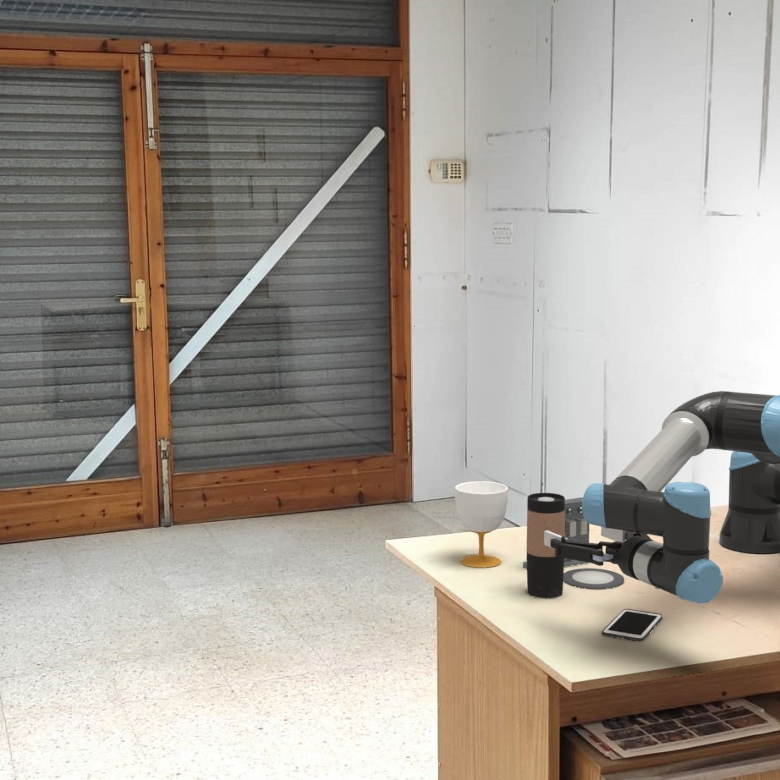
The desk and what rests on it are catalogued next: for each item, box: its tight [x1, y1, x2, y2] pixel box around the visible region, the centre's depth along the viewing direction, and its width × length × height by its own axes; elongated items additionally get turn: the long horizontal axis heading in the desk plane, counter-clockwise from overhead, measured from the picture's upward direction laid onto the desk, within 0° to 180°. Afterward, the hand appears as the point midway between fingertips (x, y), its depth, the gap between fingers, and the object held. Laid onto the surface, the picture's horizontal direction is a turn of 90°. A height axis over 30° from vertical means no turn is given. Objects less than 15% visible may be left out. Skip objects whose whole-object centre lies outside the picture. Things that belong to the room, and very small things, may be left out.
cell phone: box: [601, 608, 664, 643], centre depth 210 cm, size 8×15×1 cm, turn 151°
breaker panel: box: [522, 497, 590, 570], centre depth 246 cm, size 16×5×14 cm, turn 118°
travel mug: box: [526, 492, 566, 599], centre depth 228 cm, size 8×8×20 cm
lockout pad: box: [563, 567, 625, 590], centre depth 237 cm, size 13×13×1 cm
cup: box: [454, 480, 509, 569], centre depth 249 cm, size 12×12×17 cm
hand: (574, 533), depth 218 cm, fingers open, 13 cm apart
